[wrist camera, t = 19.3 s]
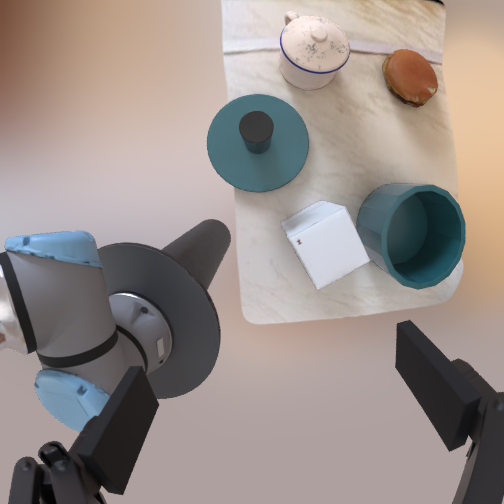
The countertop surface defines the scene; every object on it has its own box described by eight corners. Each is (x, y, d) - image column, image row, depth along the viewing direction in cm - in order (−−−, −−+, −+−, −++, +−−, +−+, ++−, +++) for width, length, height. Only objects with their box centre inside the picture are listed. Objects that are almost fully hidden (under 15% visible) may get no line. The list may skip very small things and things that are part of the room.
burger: (387, 45, 38) (398, 35, 33) (432, 72, 38) (446, 65, 34) (372, 90, 40) (383, 82, 35) (420, 117, 41) (434, 113, 36)
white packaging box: (302, 264, 46) (316, 293, 34) (279, 221, 45) (286, 236, 33) (344, 241, 45) (371, 262, 33) (322, 198, 44) (345, 204, 32)
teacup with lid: (345, 81, 40) (369, 54, 29) (293, 100, 41) (303, 74, 30) (310, 22, 38) (322, -16, 26) (258, 38, 39) (257, 1, 27)
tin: (359, 273, 47) (382, 296, 36) (352, 187, 44) (377, 189, 33) (430, 261, 46) (464, 279, 35) (426, 180, 43) (463, 182, 33)
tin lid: (216, 198, 45) (197, 205, 32) (202, 105, 42) (179, 77, 29) (314, 184, 44) (335, 186, 31) (298, 91, 41) (312, 58, 28)
